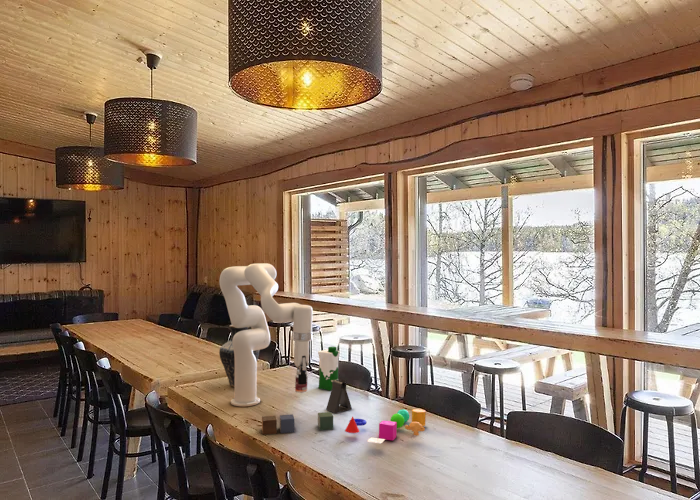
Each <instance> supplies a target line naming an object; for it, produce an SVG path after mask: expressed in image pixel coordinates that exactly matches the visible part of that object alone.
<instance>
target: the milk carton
mask: <svg viewBox="0 0 700 500" xmlns="http://www.w3.org/2000/svg"><path fill="white" fill-rule="evenodd" d="M337 349H338V348H337V347H336V346H328V348H326V349H323V350H318V351H317V354H318V360H319V361H318V363H319V364H318V365H319V366H318V367H319V368H318V369H319V370H318V371H319V372H318V373H319V374H318V375H319V376H318V389H321V390H325V391H329V392H331V390H332V382H333V380H336V381H337V380H339V358H340V355H341V354H340V353H341V351H340V350H337Z"/></svg>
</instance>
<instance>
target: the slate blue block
mask: <svg viewBox="0 0 700 500" xmlns="http://www.w3.org/2000/svg"><path fill="white" fill-rule="evenodd" d="M295 419H296V418H295V416H294V414H293V413H292V414H279V433H280V434H289V433H295V426H296V425H295V423H296V422H295Z"/></svg>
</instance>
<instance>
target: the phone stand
mask: <svg viewBox="0 0 700 500" xmlns="http://www.w3.org/2000/svg"><path fill="white" fill-rule="evenodd" d="M325 409H326V410H327V412H331V413H332V414H339V413H343V412H347V411H351V410H352V409H353V408H352V404H351V402H350V397H349V394H348V390H347V383H346V382H345V381H342V380H339V379H338V380H337V381H336V380H333V382H332V390H330V394H329V398H328V401H327V404H326V408H325Z"/></svg>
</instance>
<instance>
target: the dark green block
mask: <svg viewBox="0 0 700 500" xmlns="http://www.w3.org/2000/svg"><path fill="white" fill-rule="evenodd" d="M317 427H318V429H319V431H330V430H334V415H333V412H331V411H326V412H325V411H324V412H317Z"/></svg>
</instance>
